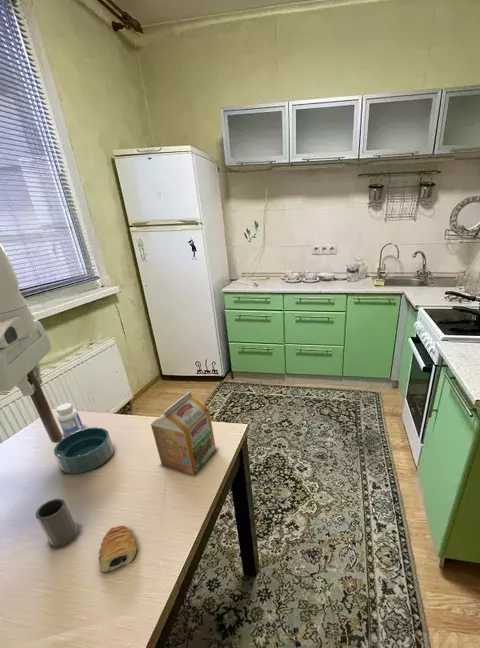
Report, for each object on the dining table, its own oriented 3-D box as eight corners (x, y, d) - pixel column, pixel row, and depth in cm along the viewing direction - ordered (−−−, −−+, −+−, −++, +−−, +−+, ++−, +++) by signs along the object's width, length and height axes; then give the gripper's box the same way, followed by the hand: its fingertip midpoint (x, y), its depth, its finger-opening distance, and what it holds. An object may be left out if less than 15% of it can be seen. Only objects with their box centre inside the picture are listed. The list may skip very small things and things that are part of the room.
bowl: (54, 480, 85) (45, 463, 82) (70, 447, 97) (64, 431, 94) (108, 470, 88) (102, 453, 85) (118, 439, 99) (113, 423, 97)
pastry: (100, 539, 69) (95, 527, 68) (133, 525, 72) (129, 513, 71) (102, 577, 62) (97, 565, 60) (140, 560, 65) (135, 548, 63)
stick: (50, 445, 70) (16, 371, 62) (54, 439, 72) (21, 367, 64) (62, 443, 71) (29, 370, 63) (65, 437, 73) (34, 365, 64)
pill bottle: (73, 426, 106) (62, 401, 102) (87, 427, 105) (78, 402, 101) (60, 436, 101) (49, 411, 97) (75, 438, 101) (65, 412, 96)
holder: (47, 551, 67) (31, 522, 63) (56, 530, 72) (41, 501, 68) (74, 545, 68) (59, 515, 64) (81, 524, 73) (68, 496, 69)
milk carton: (193, 475, 85) (181, 416, 77) (162, 465, 89) (146, 408, 80) (216, 450, 94) (206, 394, 85) (186, 442, 97) (174, 387, 89)
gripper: (11, 310, 67) (36, 369, 74) (-52, 347, 50) (-12, 420, 56) (45, 307, 69) (67, 365, 75) (-4, 341, 51) (30, 414, 57)
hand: (33, 389), depth 65 cm, fingers closed on stick, 2 cm apart
